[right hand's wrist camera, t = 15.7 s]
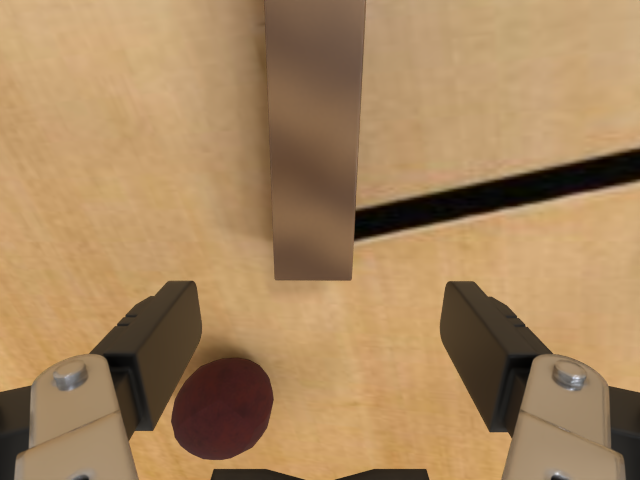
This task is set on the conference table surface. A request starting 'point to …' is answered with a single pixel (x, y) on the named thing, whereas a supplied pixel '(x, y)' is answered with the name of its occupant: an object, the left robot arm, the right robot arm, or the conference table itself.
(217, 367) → the potato
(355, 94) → the post
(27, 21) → the conference table surface
